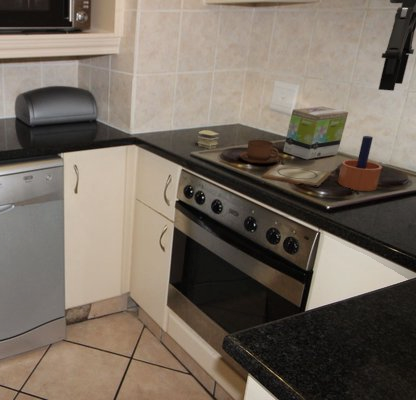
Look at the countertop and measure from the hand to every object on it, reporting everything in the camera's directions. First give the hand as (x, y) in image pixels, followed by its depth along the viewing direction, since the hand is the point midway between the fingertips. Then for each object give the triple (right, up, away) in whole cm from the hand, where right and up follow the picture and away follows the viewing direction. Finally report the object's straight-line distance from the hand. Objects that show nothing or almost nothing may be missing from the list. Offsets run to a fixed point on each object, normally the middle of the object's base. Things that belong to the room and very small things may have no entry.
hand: (390, 86), depth 107 cm
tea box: (+11, -10, +54) cm, 56 cm away
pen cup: (+8, -21, +24) cm, 33 cm away
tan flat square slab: (-5, -19, +32) cm, 37 cm away
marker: (+8, -21, +24) cm, 33 cm away
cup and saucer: (-10, -13, +47) cm, 50 cm away
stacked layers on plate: (-21, -7, +63) cm, 67 cm away
